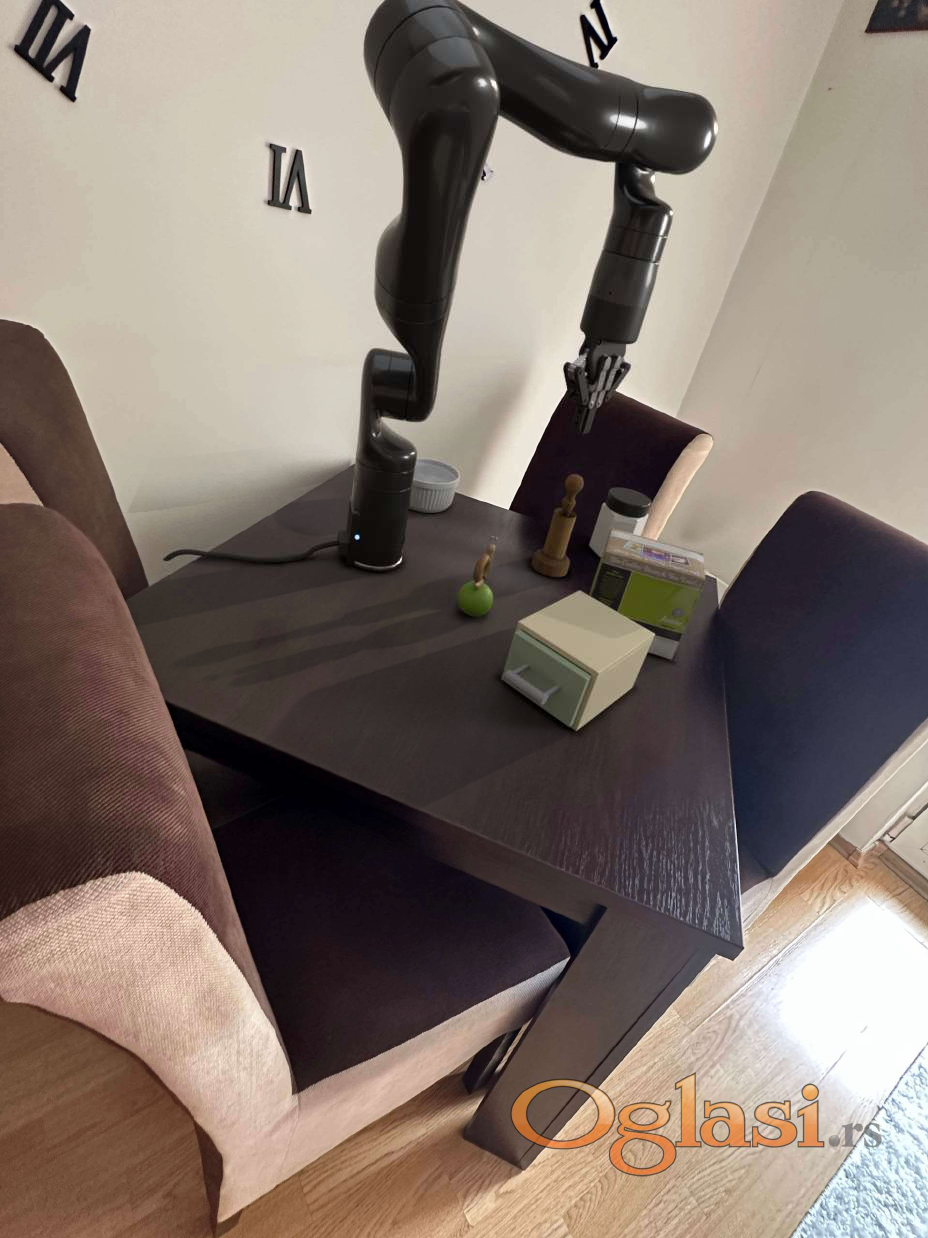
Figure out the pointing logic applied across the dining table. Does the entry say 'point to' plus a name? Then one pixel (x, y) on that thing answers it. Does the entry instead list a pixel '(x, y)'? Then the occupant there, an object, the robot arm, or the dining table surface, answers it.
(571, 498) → the mortar and pestle
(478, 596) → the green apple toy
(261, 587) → the dining table surface
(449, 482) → the ramekin
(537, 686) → the drawer
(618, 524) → the jar
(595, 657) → the cabinet
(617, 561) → the tea box
